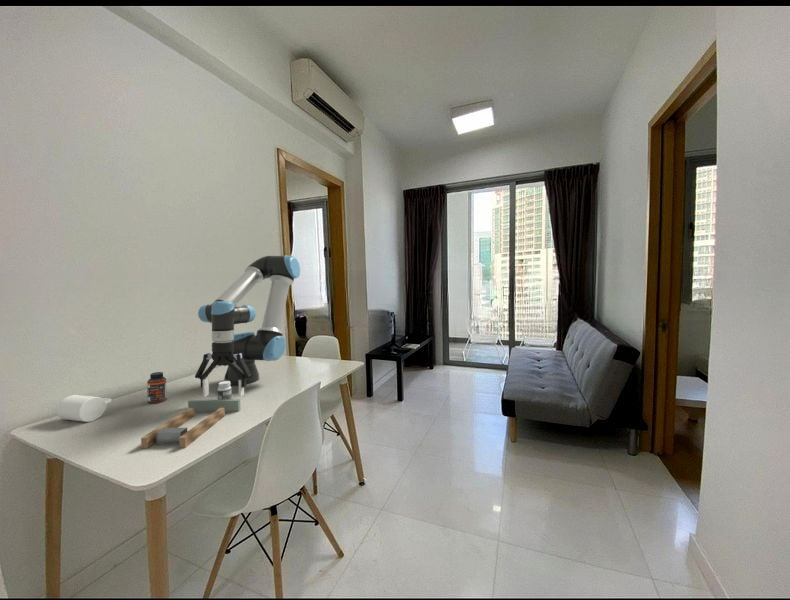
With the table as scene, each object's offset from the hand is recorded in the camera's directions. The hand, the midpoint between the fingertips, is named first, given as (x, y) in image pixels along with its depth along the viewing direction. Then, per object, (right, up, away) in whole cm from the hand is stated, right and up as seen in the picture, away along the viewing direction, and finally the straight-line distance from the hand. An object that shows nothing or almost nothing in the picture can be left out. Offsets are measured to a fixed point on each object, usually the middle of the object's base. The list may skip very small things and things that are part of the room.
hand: (223, 395), depth 117 cm
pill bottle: (0, -3, +1) cm, 3 cm away
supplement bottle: (-28, -3, +3) cm, 28 cm away
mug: (-41, -4, -11) cm, 42 cm away
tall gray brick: (+1, -5, -28) cm, 29 cm away
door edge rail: (0, -4, -6) cm, 7 cm away
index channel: (+1, -4, -21) cm, 22 cm away
